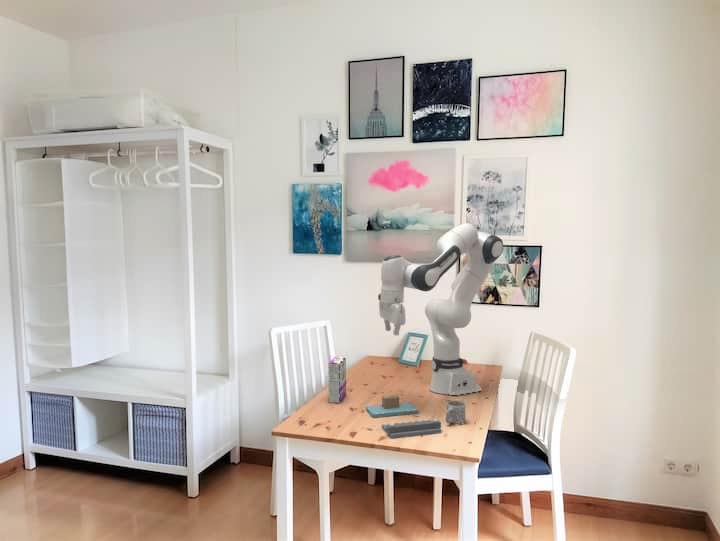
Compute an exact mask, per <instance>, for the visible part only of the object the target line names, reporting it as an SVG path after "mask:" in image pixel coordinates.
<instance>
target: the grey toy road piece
mask: <svg viewBox="0 0 720 541" xmlns="http://www.w3.org/2000/svg"><path fill="white" fill-rule="evenodd" d="M441 428H442V422H441V421H440V420H439V419H437V418H433V420H431V419H420V420H412V421H399V422H390V423H382V424H381V429H382V430H383V429H384V430H383V431H384V432H385V433H386V434H387V435H388V437H389V438H390V439H397V438H398V437H399V438H405V436H408V437H415V436H416V435H417V436H424V435H434V434H441V433H442V429H441ZM399 438H398V439H399Z"/></svg>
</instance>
